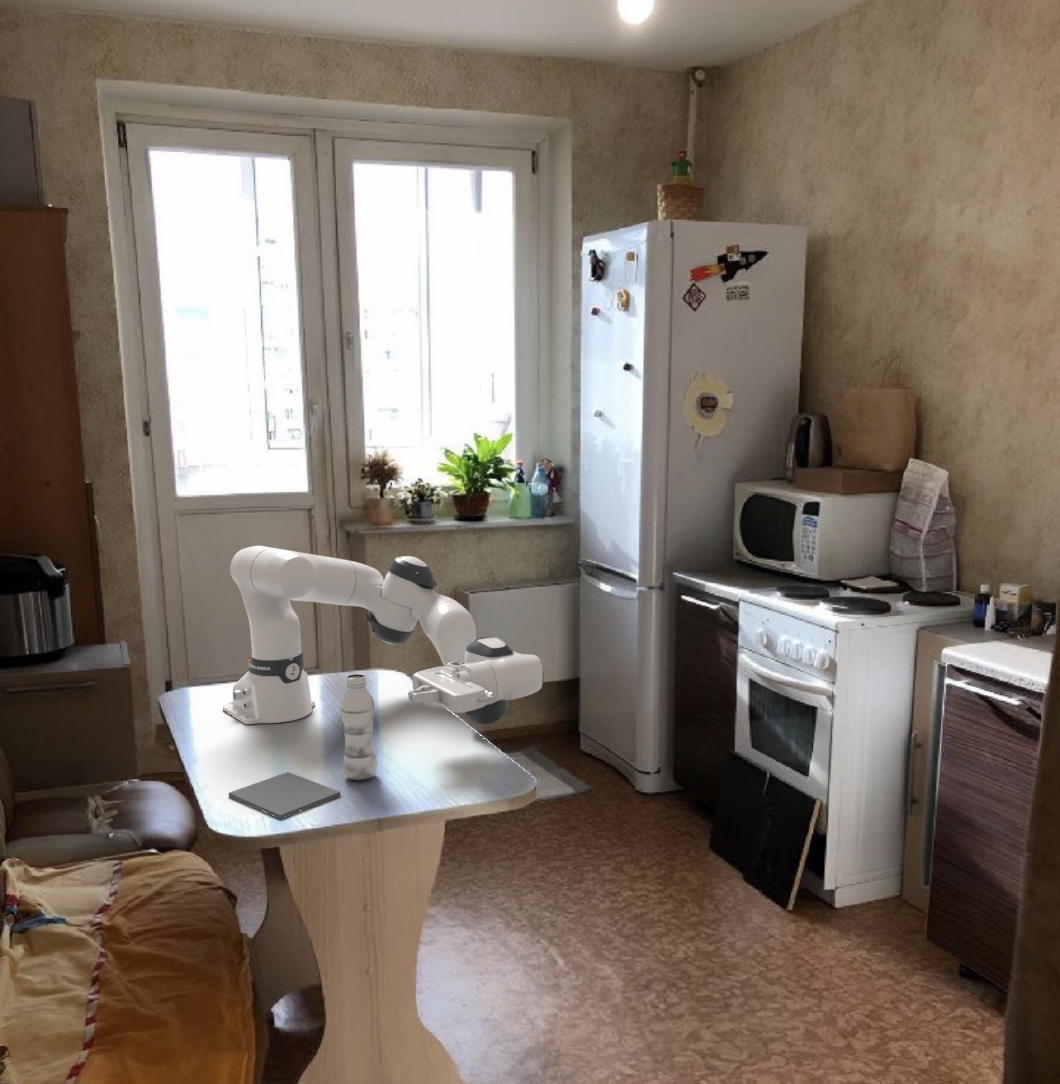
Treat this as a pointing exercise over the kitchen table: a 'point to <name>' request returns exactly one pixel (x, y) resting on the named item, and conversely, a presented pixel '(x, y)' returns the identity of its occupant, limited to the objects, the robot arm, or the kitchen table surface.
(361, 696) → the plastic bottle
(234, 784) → the kitchen table surface
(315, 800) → the mat
